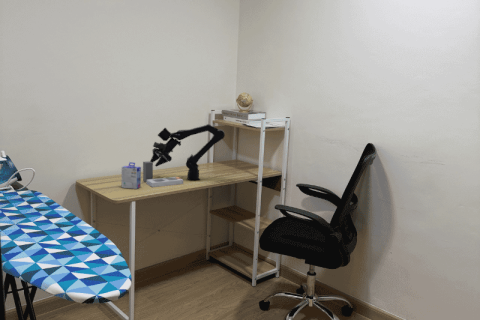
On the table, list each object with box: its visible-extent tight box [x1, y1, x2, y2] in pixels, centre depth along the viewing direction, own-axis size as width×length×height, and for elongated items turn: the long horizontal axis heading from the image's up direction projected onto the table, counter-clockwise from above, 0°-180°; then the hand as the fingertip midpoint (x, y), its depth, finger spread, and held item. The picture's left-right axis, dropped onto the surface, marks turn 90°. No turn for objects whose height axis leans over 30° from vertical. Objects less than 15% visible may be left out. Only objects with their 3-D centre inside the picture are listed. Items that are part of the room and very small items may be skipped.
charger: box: [142, 160, 154, 183], centre depth 255 cm, size 4×4×12 cm
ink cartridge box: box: [121, 161, 142, 190], centre depth 239 cm, size 10×6×14 cm, turn 78°
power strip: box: [146, 176, 184, 188], centre depth 252 cm, size 20×9×3 cm, turn 124°
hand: (152, 164), depth 256 cm, fingers open, 9 cm apart
